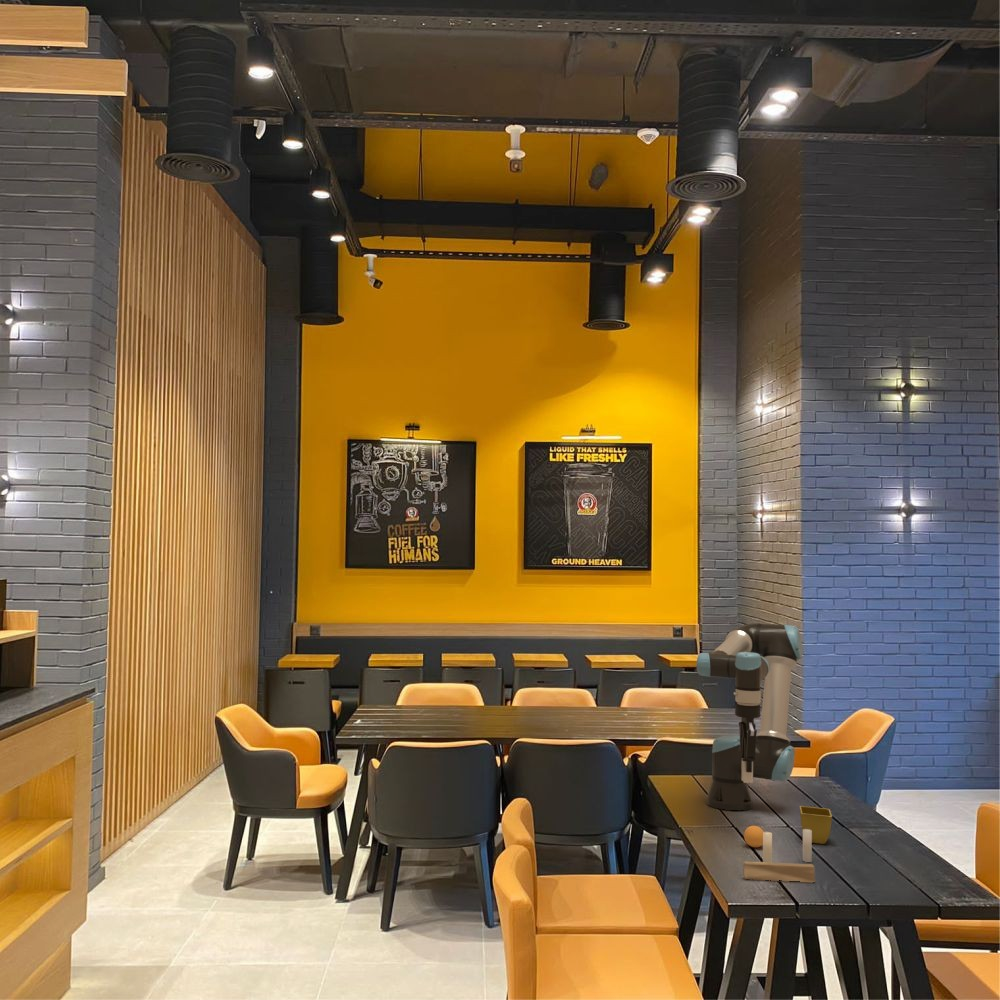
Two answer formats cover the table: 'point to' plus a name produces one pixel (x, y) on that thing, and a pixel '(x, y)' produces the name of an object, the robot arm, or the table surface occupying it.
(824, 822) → the flower pot
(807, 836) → the beige tapered peg
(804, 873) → the back wall
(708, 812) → the table surface
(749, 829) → the ball
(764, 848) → the cream pin
